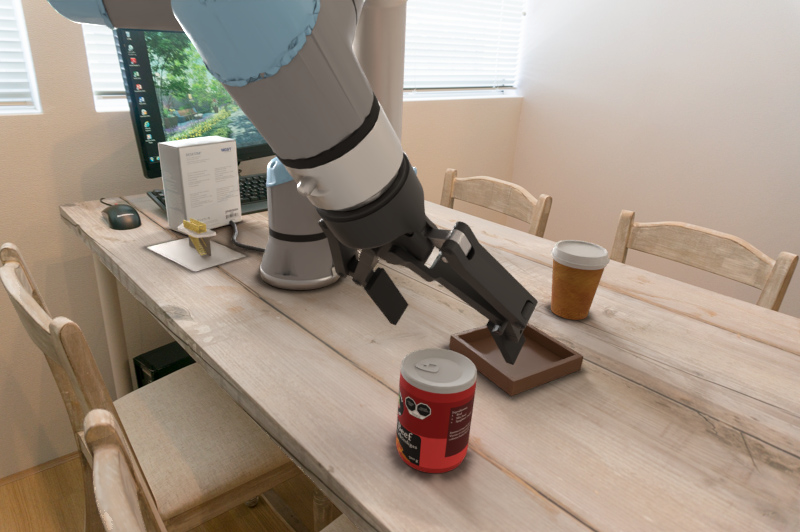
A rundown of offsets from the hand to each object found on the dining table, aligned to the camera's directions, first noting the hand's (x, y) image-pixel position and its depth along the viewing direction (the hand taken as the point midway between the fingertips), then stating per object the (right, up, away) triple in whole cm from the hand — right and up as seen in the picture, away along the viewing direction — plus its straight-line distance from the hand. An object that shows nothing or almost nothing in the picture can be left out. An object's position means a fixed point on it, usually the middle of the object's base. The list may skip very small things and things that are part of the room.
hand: (453, 331), depth 52 cm
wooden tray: (+12, -7, +26) cm, 29 cm away
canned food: (-2, -14, +7) cm, 16 cm away
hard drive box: (-52, +16, +74) cm, 92 cm away
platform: (-48, +9, +58) cm, 76 cm away
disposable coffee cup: (+25, -2, +42) cm, 48 cm away
